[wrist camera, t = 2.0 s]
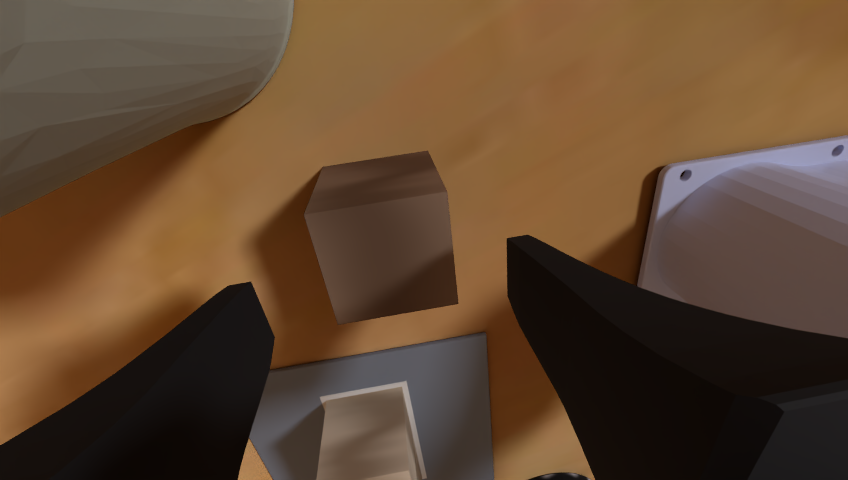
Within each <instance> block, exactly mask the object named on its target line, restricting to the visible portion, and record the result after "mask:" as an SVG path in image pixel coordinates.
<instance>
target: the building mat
mask: <svg viewBox="0 0 848 480" xmlns="http://www.w3.org/2000/svg"><path fill="white" fill-rule="evenodd" d="M397 387H402V389H403V393H404V398H405V402H406V407H407V411H408V416H409V420H410V425H411V429H412V435H413V438H414V443H415V447H416V452H417V456H418V461H419V465H420V470H421V474H422V480H494V470H493V451H492V433H491V414H490V396H489V377H488V359H487V340H486V333H485V332H483V333H477V334H472V335H466V336H461V337H455V338H449V339H444V340H438V341H432V342H427V343H421V344H416V345H410V346H404V347H399V348H393V349H388V350H382V351H376V352H371V353H365V354H359V355H354V356H348V357H343V358H337V359H331V360H326V361H320V362H314V363H309V364H303V365H298V366H292V367H286V368H281V369H275V370H269V374H268V377H267V381H266V384H265V387H264V391H263V394H262V397H261V400H260V404H259V407H258V410H257V413H256V416H255V419H254V423H253V426H252V429H251V432H250V435H249V438H250V440H251V441H252V443H253V445H254V447H255V448H256V450H257V452H258V454H259V455H260V457H261V459H262V461H263V462H264V464H265V466H266V468H267V469H268V471H269V473H270V475H271V476H272V478H273V480H316V478H317V471H318V463H319V455H320V448H321V440H322V432H323V425H324V417H325V409H326V402H327V400H331V399H337V398H342V397H348V396H353V395H359V394H364V393H370V392H375V391H381V390H386V389H392V388H397Z"/></svg>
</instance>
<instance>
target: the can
mask: <svg viewBox="0 0 848 480" xmlns="http://www.w3.org/2000/svg"><path fill="white" fill-rule="evenodd" d="M293 9H294V0H0V217H2V216H4V215H6V214H8V213H10V212H12V211H14V210H16V209H18V208H20V207H22V206H24V205H26V204H28V203H30V202H32V201H34V200H36V199H38V198H40V197H42V196H44V195H46V194H48V193H50V192H52V191H54V190H56V189H58V188H60V187H62V186H64V185H66V184H68V183H70V182H72V181H74V180H76V179H78V178H81V177H83V176H85V175H87V174H89V173H91V172H93V171H95V170H97V169H99V168H101V167H103V166H105V165H107V164H109V163H112V162H114V161H116V160H118V159H120V158H122V157H124V156H126V155H129V154H131V153H133V152H135V151H137V150H139V149H141V148H143V147H145V146H148V145H150V144H152V143H154V142H156V141H158V140H160V139H162V138H164V137H167V136H169V135H171V134H173V133H175V132H177V131H179V130H182V129H184V128H186V127H189V126H191V125H193V124H198V123H203V122H208V121H211V120H214V119H217V118H220V117H223V116H225V115H228V114H230V113H232V112H234V111H236V110H237V109H239V108H240V107H242V106H243V105H245V104H246V103H248V102H249V101H250V100H251V99H253V98H254V97H255V96H256V95H257V94H258V93H259V92H260V91H261V90H262V89H263V88H264V86H265V85H266V84H267V83H268V81H269V80H270V79H271V77H272V76H273V74H274V73H275V71H276V69H277V67H278V66H279V63H280V61H281V59H282V57H283V54H284V52H285V49H286V46H287V43H288V40H289V35H290V31H291V26H292V19H293Z"/></svg>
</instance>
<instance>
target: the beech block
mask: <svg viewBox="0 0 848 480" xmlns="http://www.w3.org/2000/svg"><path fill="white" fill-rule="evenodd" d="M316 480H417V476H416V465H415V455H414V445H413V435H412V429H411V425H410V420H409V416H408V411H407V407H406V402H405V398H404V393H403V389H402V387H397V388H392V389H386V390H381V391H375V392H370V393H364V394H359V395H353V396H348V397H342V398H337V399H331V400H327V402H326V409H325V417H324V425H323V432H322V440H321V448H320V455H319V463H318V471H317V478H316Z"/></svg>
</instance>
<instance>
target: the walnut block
mask: <svg viewBox="0 0 848 480" xmlns="http://www.w3.org/2000/svg"><path fill="white" fill-rule="evenodd" d="M304 217H305V220H306V223H307V227H308V230H309V233H310V236H311V240H312V243H313V246H314V249H315V252H316V256H317V259H318V262H319V265H320V268H321V272H322V275H323V278H324V281H325V285H326V288H327V291H328V294H329V297H330V301H331V304H332V307H333V310H334V313H335V317H336V320H337V323H338V325H340V324H346V323H351V322H357V321H363V320H369V319H374V318H380V317H386V316H392V315H397V314H403V313H409V312H415V311H420V310H426V309H432V308H438V307H443V306H449V305H455V304H458V295H457V285H456V275H455V265H454V255H453V245H452V235H451V225H450V215H449V205H448V195H447V190H446V188H445V186H444V184H443V182H442V180H441V178H440V175H439V173H438V171H437V169H436V167H435V165H434V163H433V161H432V159H431V156H430V154H429V152H428V151H422V152H416V153H409V154H403V155H397V156H390V157H384V158H377V159H371V160H365V161H358V162H352V163H345V164H339V165H333V166H326V167H323V168H322V170H321V173H320V175H319V178H318V180H317V183H316V185H315V188H314V190H313V193H312V195H311V198H310V200H309V203H308V205H307V208H306V210H305V213H304Z"/></svg>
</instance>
